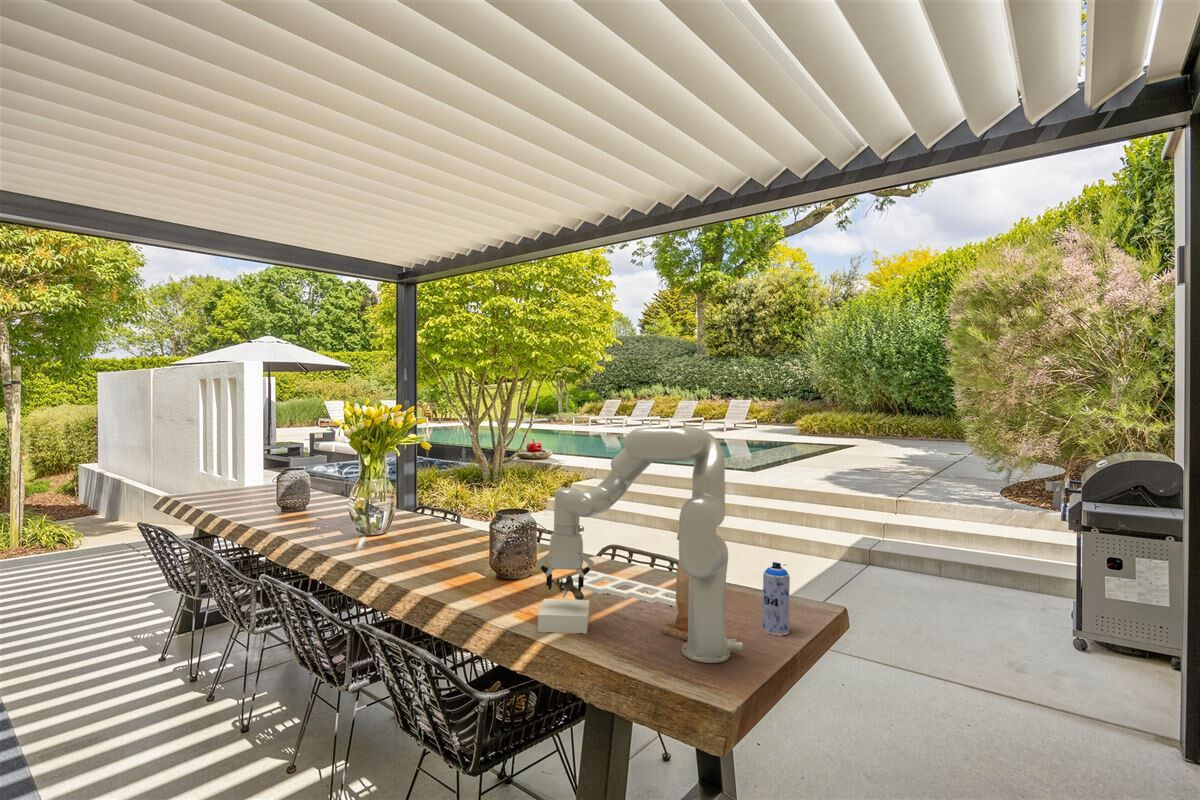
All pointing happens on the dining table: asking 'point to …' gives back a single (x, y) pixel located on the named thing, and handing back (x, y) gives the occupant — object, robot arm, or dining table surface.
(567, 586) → the eagle figurine
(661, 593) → the holder
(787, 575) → the aerosol can
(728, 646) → the robot arm
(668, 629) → the bird sculpture
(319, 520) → the dining table surface
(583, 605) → the stand
